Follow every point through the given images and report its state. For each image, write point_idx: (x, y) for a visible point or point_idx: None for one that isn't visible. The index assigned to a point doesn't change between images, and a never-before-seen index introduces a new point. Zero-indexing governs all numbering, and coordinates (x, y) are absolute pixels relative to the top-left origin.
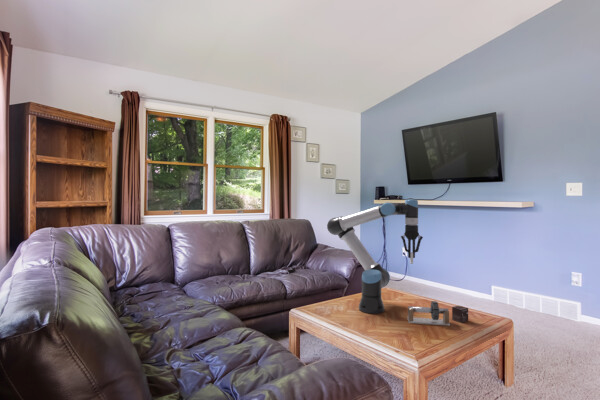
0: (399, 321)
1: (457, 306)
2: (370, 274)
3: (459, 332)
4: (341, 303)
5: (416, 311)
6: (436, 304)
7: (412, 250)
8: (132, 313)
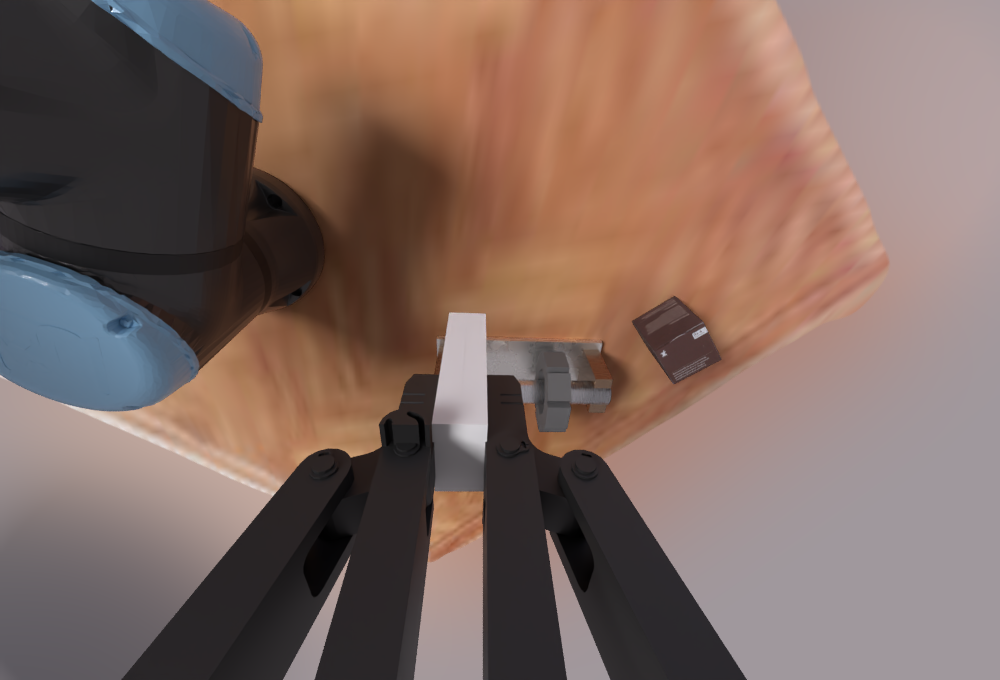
0: (401, 371)
1: (684, 342)
2: (80, 404)
3: (595, 430)
4: None
5: None
6: (557, 431)
7: (486, 465)
8: None
